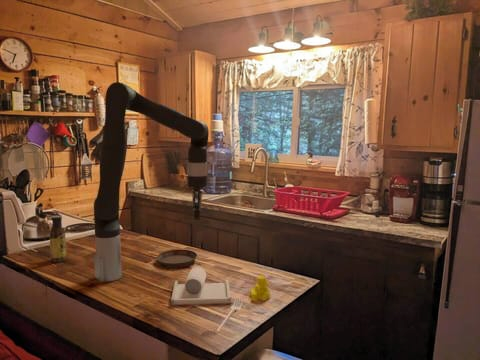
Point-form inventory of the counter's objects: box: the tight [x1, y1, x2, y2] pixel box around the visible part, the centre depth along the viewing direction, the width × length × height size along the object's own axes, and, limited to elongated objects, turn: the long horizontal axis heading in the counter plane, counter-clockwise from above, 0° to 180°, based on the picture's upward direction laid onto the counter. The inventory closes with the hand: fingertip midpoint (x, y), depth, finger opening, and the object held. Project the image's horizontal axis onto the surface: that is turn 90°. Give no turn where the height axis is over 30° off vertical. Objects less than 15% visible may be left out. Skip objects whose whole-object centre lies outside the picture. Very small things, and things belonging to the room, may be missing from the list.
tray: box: [170, 279, 232, 306], centre depth 137 cm, size 16×20×2 cm
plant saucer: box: [156, 248, 198, 268], centre depth 170 cm, size 18×18×3 cm
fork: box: [216, 297, 244, 332], centre depth 121 cm, size 3×20×2 cm, turn 161°
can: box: [184, 266, 207, 294], centre depth 140 cm, size 6×6×12 cm
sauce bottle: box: [49, 215, 67, 263], centre depth 169 cm, size 6×6×20 cm
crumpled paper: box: [249, 274, 271, 302], centre depth 135 cm, size 6×8×8 cm
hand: (197, 219), depth 147 cm, fingers closed
